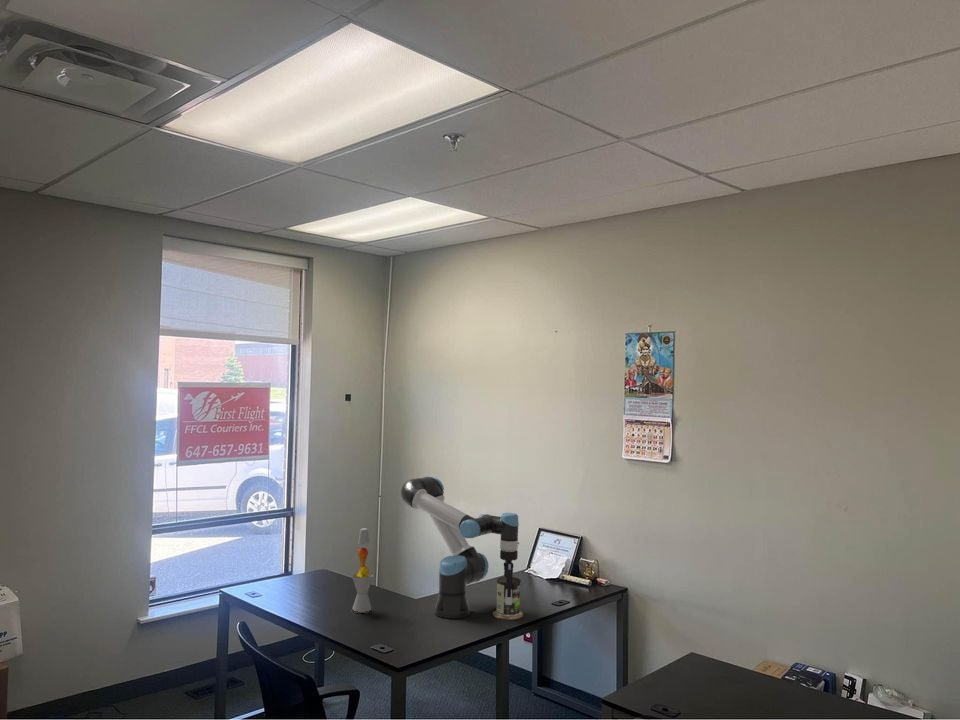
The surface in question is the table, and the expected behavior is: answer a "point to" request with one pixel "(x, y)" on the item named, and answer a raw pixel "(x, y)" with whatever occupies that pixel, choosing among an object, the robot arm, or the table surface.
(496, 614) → the cork mat
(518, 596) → the coffee can
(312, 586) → the table surface
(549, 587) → the table surface
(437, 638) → the table surface
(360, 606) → the lava lamp
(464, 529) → the robot arm
